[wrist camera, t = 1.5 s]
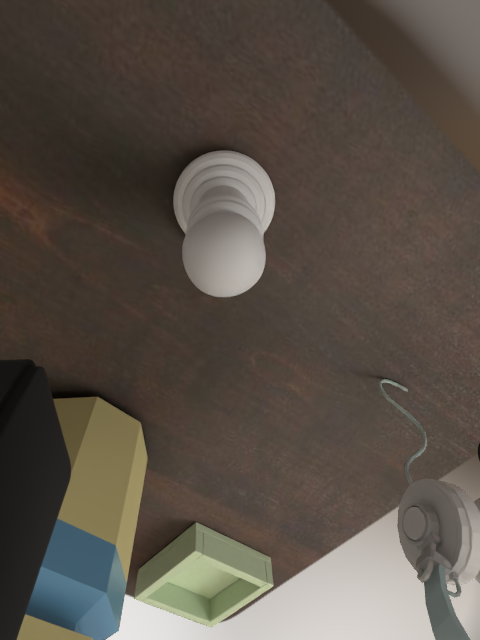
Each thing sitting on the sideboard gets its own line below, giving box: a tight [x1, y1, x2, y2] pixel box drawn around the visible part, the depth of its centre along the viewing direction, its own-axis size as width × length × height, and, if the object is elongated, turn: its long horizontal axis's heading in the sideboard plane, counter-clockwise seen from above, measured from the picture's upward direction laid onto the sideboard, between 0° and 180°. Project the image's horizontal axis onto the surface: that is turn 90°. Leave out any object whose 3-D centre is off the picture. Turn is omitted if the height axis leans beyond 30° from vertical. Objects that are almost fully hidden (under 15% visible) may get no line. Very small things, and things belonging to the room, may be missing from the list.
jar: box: [17, 397, 148, 640], centre depth 26 cm, size 9×9×15 cm
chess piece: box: [173, 150, 275, 297], centre depth 20 cm, size 5×5×9 cm
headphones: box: [378, 379, 480, 640], centre depth 22 cm, size 8×4×20 cm, turn 66°
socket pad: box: [134, 522, 273, 627], centre depth 40 cm, size 9×9×3 cm
